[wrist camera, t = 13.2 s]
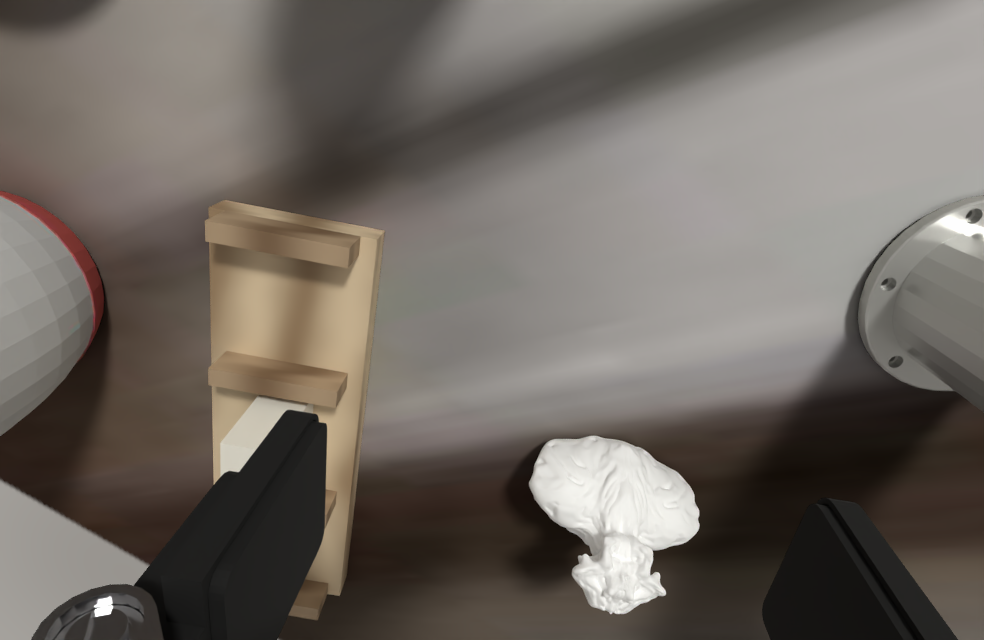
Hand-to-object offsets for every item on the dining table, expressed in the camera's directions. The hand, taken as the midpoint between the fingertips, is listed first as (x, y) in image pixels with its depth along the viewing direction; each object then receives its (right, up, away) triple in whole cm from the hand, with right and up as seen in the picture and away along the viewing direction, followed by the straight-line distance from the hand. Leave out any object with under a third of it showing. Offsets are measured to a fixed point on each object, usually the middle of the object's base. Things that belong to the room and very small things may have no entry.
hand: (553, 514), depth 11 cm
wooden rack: (-16, -3, +31) cm, 34 cm away
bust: (+7, -7, +32) cm, 33 cm away
